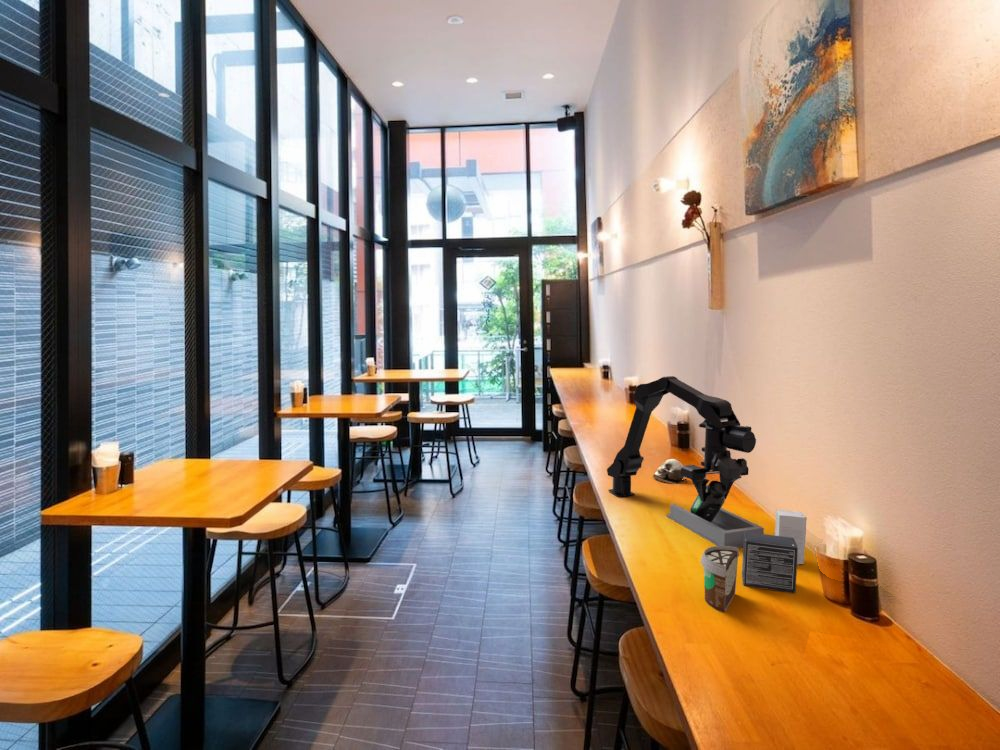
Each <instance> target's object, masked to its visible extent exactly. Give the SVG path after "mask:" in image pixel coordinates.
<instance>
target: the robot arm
mask: <svg viewBox="0 0 1000 750" xmlns="http://www.w3.org/2000/svg"><path fill="white" fill-rule="evenodd" d="M667 394H671V395H673V396H675V397H676V398H678V399H680V400H681V401H683V402H685V403H687V404H688V405H689V406H692V407H693V408H694V409H696V411H697V413H698V415H699V416H701V418H702V419H704V420H703V421H702V422H700V424H699V425H698V427H699V428H703V429H705V432H704V433H705V434H704V435H705V436H704V438H705V439H704V447H703V446H702V447H701V451H702V452H704V455H703V457H704V459H703V461H701V462H700V466H698V465H695V464H686V465H683V467H682V468H681V475H682V476H684V478H686V479H689V480H691V482H692V484H693V485H694V487H695V489H696V492H697V496H698V495H699V497H700V499H701V501H702V502H705V497H706V486H707V484H709V483H710V480H709V479H708V478H707V475H714V474H719V482H721V483H722V484H723V485H724V486H725V487H726V493H725V495H724V497H725V500H726V499H727V497H728V496H729V494H730V491H731V488H732V486H733V484H734V483H735V482H736V481H737V480H740V479H742V476H748V475H749V471H750V470H749V467H748V462H747V460H746V458H743V457H741V458H732V457H731V455H732V452H731V450H733V451H738V452H741V453H746V454H747V453H748V454H750V453H751V452H753V451H754V449H755V446H756V443H757V438H756V435H755V434H754V432H753V431H752V427H751V426H750V425H749V426H748V425H746V426H744V425H741V423H740V421H739V419H738V417H737V415H736V413H735V412H734V410H733V407H732V404H731V402H729V401H728V400H726V399H723V398H721V397H720V398H719V397H718V396H717V397H716V396H711V395H707V394H705V393H703V392H701V391H699V390H698V389H696V388H694V387H692V386H691V385H689V384H687V383H685V382H684V381H681V380H680V379H678V377H676V376H674V375H671V376H662V377H661V378H658V379H655V380H653V381H650V382H648V383H640V384H638V385H636V387H635V392H634V397H633V402H634V404H635V410H634V413H633V416H632V421H631V423H630V427H629V429H628V433H627V437H626V440H625V442H624V445H623V447H621V449H620V450H619V451H617V453H616V455H615V457H614V458H613V463H611V464H610V465H609V467H607V468H606V472H607V473H606V474H607V476H608V477H610V478H612V489H608V492H609V493H611V494H612V495H614V496H616V497H618V498H619V497H625V496H626V497H629V495H630V496H634V495H635V492H633V491H632V476H637V473H638V471H639V469H641V468H642V464H643V461H644V456H642V455H641V451H640V449H641V445H642V443H643V439H644V437H645V433H646V430H647V428H648V424H649V421H650V419H651V418H650V417H651V416H652V412H653V411H654V410H655V409H656V408H657V407H658V406H659V405H660V403H661V401H662V399H663V397H664V396H665V395H667ZM728 449H729V450H728ZM701 466H702V467H701Z"/></svg>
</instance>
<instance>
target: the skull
mask: <svg viewBox="0 0 1000 750" xmlns="http://www.w3.org/2000/svg"><path fill="white" fill-rule="evenodd" d="M683 466H684V465H683V464H682V463H681V462H680V461H679V460H677V459H675V458H670V459H666V460H665V462H663V463H662V464H661V465H660V466H659V467H658V468H657V471H656V472H655V473H654V474H653V475H652V477H653V478H654V479H655V480H656V481H659V482H663V483H666V484H670V485H671V484H673V485H678V484H680V483H681V482H684V481H686V480H685V478H686V477H684V476H682V475H681V468H682V467H683ZM682 479H683V480H682Z"/></svg>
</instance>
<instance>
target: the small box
mask: <svg viewBox="0 0 1000 750" xmlns="http://www.w3.org/2000/svg"><path fill="white" fill-rule="evenodd" d="M797 555H798V546H797V544H796V542H795V540H794V538H791V537H783V536H775V534H774V535H773V534H765V533H763V534H757V533H749V532H744V542H743V547H742V564H741V566H742V567H741V568H742V570H741V578H742V585H743V586H744V587H750V588H756V589H763V590H771V591H776V592H782V593H783V592H784V593H789V594H796V593H797V572H798V571H797V570H798V569H797V568H798V567H797V566H798V564H797Z"/></svg>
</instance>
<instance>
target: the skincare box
mask: <svg viewBox="0 0 1000 750" xmlns="http://www.w3.org/2000/svg"><path fill="white" fill-rule="evenodd" d="M774 520H775V523H774V524H775V525H774V536H783V537H791V538H794V540H795V542H796V544H797V546H798V555H797V565H799V564H805V550H806V538H807V537H806V535H807V520H808V519H807V516H806V515H805V514H804V513H803V512H802V511H793V510H782V509H780V510H779V509H776V510H775V519H774Z"/></svg>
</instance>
